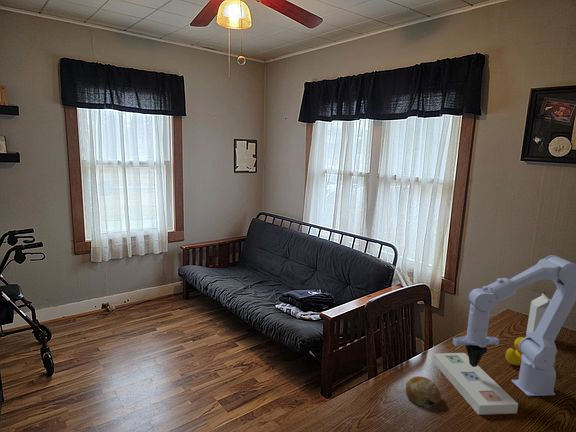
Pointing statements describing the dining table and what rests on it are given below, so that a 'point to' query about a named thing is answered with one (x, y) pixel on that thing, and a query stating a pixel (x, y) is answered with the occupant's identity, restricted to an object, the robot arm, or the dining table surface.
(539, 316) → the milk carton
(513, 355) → the duckling
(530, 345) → the robot arm
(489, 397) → the button one
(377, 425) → the dining table surface
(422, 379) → the bread roll
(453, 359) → the button two
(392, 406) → the dining table surface
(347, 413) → the dining table surface
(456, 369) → the button panel
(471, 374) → the button three
